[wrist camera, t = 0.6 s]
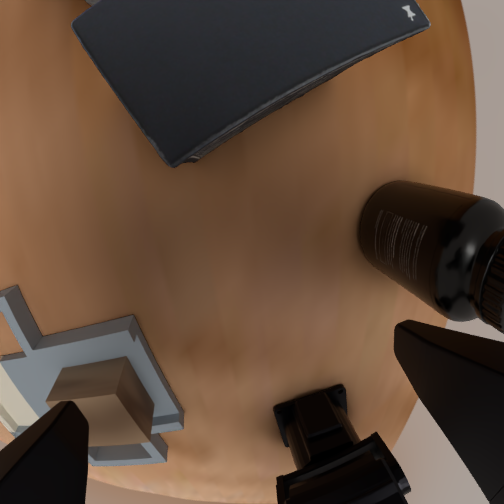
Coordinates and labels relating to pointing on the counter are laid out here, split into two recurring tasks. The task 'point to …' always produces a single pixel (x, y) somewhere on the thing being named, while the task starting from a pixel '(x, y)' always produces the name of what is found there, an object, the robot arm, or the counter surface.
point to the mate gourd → (92, 2)
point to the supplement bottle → (439, 248)
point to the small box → (229, 59)
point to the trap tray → (77, 353)
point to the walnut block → (107, 401)
